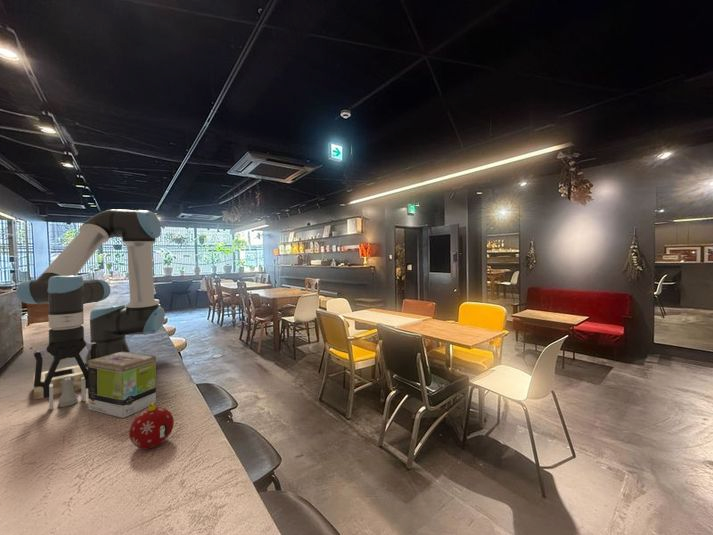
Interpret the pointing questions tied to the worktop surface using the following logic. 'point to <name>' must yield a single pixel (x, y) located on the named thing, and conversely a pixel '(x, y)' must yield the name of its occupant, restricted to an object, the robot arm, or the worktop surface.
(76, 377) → the socket block
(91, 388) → the tea box
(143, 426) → the christmas ornament
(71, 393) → the rook chess piece
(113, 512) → the worktop surface
